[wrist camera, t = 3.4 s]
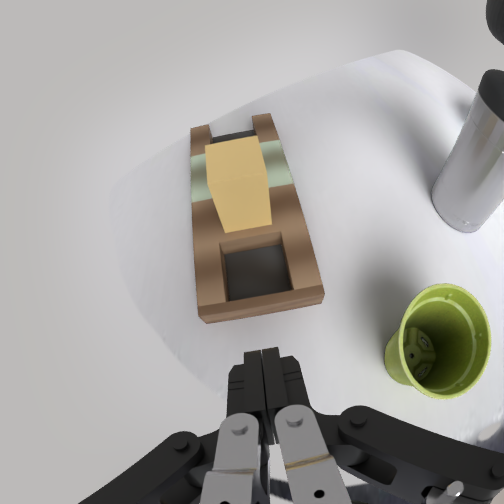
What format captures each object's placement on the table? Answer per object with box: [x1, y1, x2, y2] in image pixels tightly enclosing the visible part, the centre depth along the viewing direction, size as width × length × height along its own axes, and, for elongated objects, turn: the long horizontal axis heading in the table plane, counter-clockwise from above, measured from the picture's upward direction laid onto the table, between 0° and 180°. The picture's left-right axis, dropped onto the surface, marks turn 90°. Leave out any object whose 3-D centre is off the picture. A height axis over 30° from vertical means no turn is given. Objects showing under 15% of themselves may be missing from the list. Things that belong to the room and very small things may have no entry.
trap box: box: [191, 113, 325, 324], centre depth 34 cm, size 28×12×3 cm, turn 8°
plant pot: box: [385, 283, 491, 399], centre depth 21 cm, size 9×9×9 cm
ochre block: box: [205, 136, 272, 233], centre depth 28 cm, size 5×5×8 cm
